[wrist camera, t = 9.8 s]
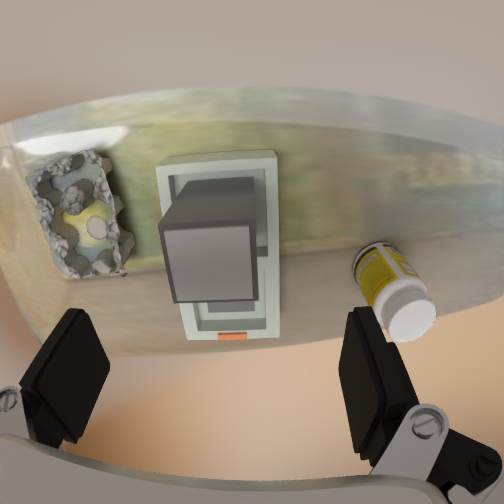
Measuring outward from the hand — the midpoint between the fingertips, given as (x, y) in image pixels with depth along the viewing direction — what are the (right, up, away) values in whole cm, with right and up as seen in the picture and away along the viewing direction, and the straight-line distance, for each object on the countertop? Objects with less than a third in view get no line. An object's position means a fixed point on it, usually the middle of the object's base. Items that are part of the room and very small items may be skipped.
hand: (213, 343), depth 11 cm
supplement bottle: (+13, +2, +17) cm, 21 cm away
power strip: (-1, +4, +16) cm, 16 cm away
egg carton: (-13, +7, +15) cm, 21 cm away
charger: (-1, +6, +12) cm, 14 cm away
